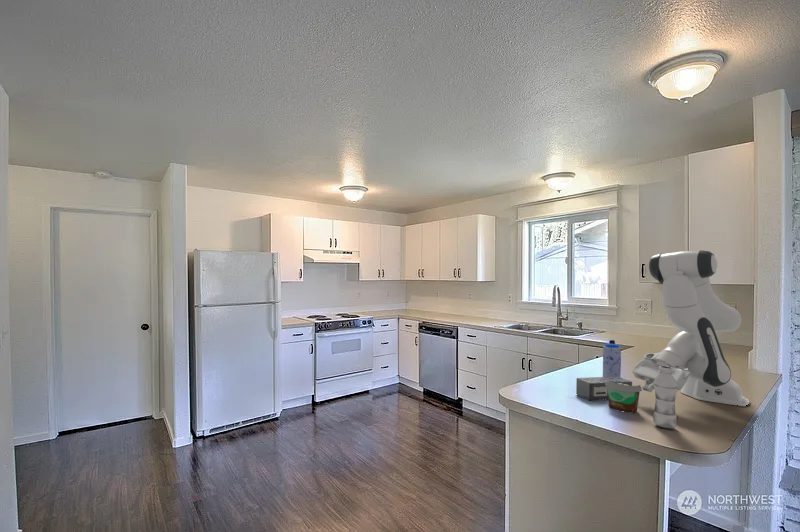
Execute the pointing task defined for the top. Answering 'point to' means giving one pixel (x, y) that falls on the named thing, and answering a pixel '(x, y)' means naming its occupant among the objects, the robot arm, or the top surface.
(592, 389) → the box
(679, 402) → the top surface
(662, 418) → the plastic bottle
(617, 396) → the food container
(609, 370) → the aerosol can
